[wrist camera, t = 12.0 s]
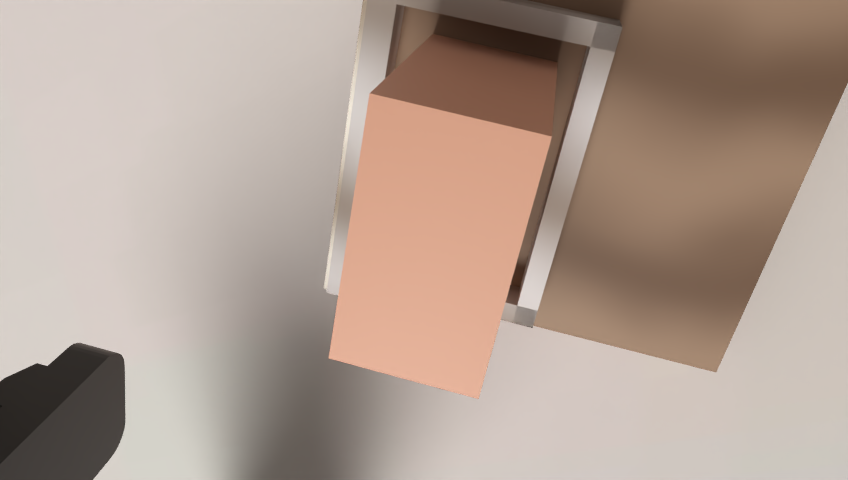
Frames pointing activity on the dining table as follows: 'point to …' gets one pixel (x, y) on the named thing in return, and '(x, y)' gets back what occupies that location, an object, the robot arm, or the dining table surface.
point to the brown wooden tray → (639, 152)
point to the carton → (442, 210)
